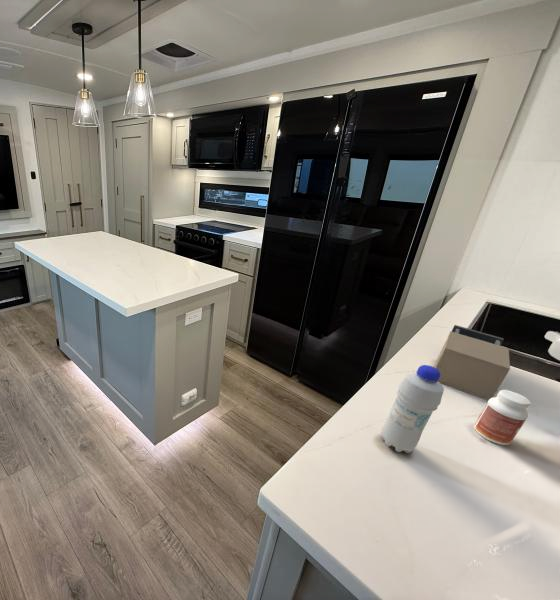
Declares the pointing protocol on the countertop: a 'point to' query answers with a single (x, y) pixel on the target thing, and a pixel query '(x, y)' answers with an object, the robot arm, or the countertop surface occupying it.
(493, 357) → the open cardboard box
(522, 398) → the pill bottle
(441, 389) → the bottle
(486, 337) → the detergent drawer
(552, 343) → the robot arm
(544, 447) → the countertop surface
